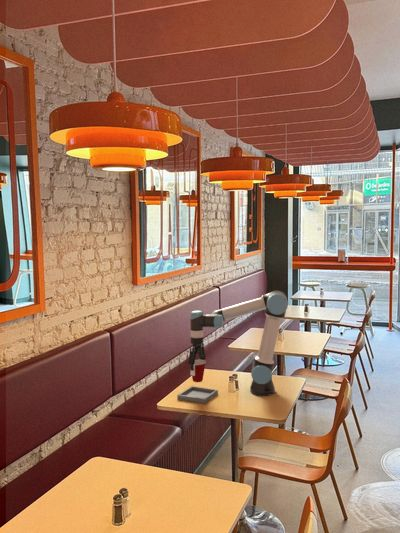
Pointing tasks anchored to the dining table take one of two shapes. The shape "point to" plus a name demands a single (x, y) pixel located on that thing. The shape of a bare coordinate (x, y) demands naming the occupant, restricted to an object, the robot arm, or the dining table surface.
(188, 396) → the tray
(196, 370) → the plastic cup
